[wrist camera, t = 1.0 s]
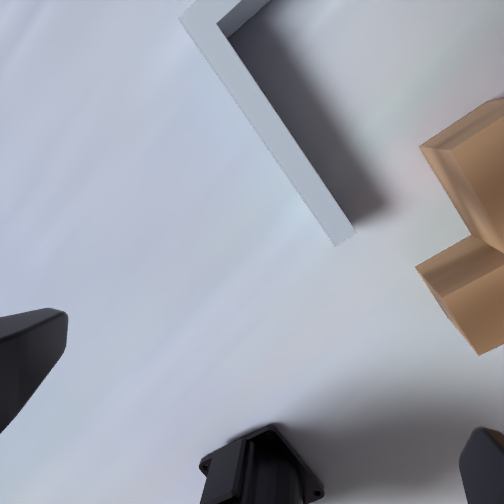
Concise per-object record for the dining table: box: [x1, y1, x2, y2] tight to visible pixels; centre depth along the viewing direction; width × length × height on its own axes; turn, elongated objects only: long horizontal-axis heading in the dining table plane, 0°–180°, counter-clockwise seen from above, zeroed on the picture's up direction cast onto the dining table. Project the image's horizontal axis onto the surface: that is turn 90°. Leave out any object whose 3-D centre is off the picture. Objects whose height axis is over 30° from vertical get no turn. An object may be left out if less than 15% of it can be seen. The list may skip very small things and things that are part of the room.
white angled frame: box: [178, 0, 357, 246], centre depth 16 cm, size 12×15×2 cm
